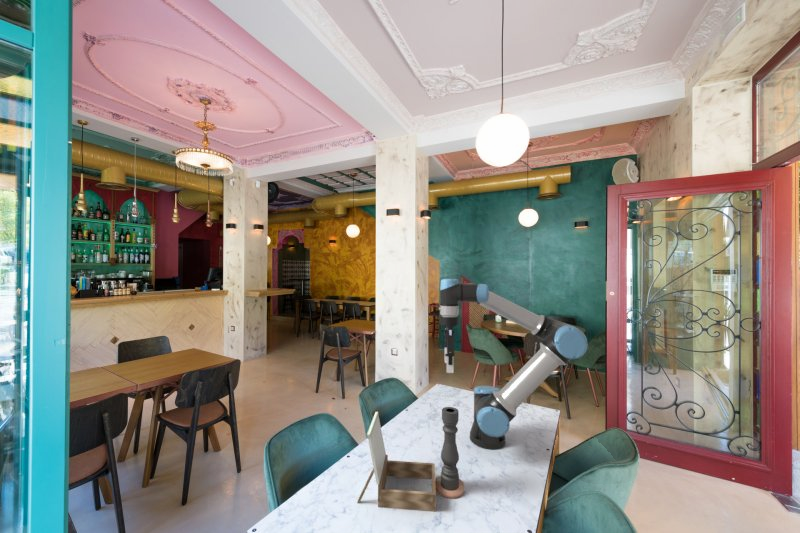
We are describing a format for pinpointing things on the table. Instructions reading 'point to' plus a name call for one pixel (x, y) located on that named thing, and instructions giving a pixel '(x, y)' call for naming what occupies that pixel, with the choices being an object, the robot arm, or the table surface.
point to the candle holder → (450, 449)
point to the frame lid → (376, 446)
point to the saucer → (449, 494)
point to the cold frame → (404, 497)
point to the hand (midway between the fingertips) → (448, 367)
